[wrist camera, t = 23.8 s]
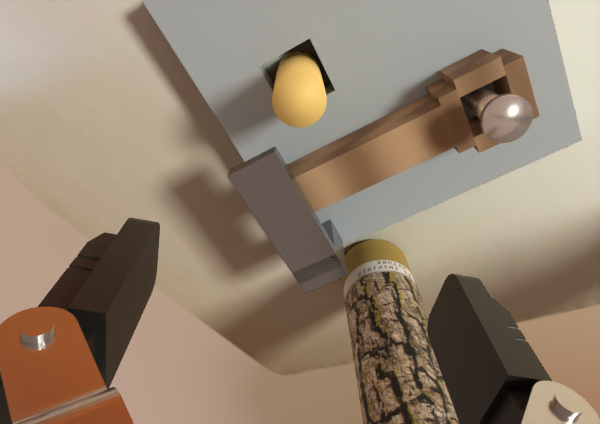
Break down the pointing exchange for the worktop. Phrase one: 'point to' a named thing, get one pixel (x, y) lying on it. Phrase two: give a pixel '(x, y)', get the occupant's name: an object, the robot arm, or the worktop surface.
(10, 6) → the worktop surface
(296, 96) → the pin
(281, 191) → the keeper
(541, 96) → the board
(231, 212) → the worktop surface
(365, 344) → the brown bark-textured cylinder
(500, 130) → the pintle
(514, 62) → the link
